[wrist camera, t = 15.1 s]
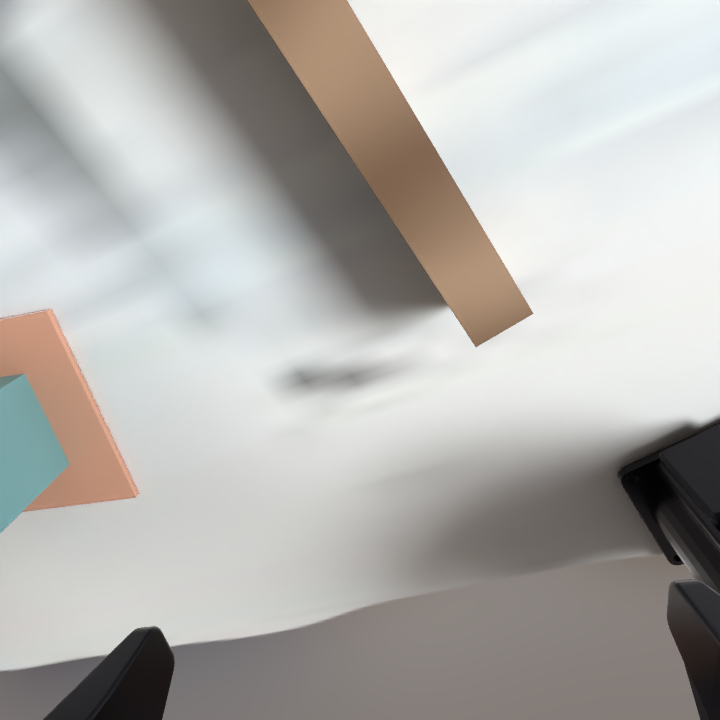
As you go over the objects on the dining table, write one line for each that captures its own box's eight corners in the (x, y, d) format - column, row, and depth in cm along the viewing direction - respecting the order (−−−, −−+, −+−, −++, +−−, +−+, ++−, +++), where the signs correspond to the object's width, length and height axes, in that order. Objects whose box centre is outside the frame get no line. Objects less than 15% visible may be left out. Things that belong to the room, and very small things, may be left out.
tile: (51, 308, 21) (46, 311, 20) (138, 493, 25) (135, 497, 24) (-144, 346, 22) (-151, 348, 22) (-32, 515, 26) (-36, 519, 26)
